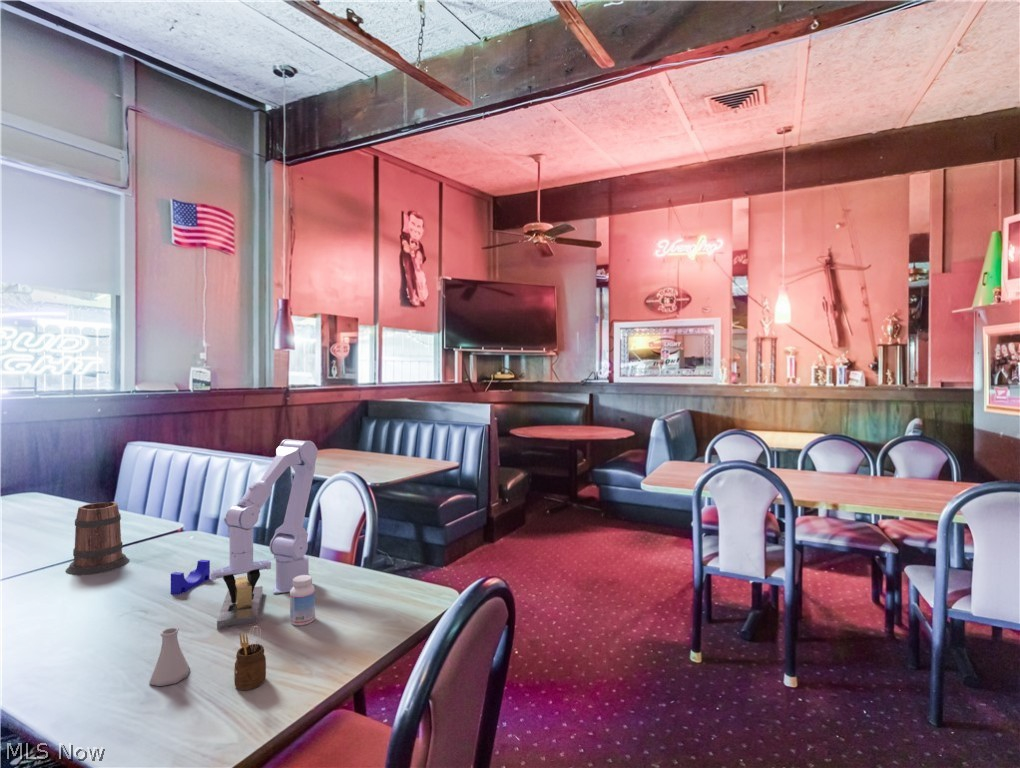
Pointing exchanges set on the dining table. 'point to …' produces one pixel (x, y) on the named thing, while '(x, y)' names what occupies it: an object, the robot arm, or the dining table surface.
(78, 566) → the tankard
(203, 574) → the cable clip
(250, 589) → the wooden toy block
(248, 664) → the utensil holder
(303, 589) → the pill bottle
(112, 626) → the dining table surface
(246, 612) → the gray rectangular plate
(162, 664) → the flask
